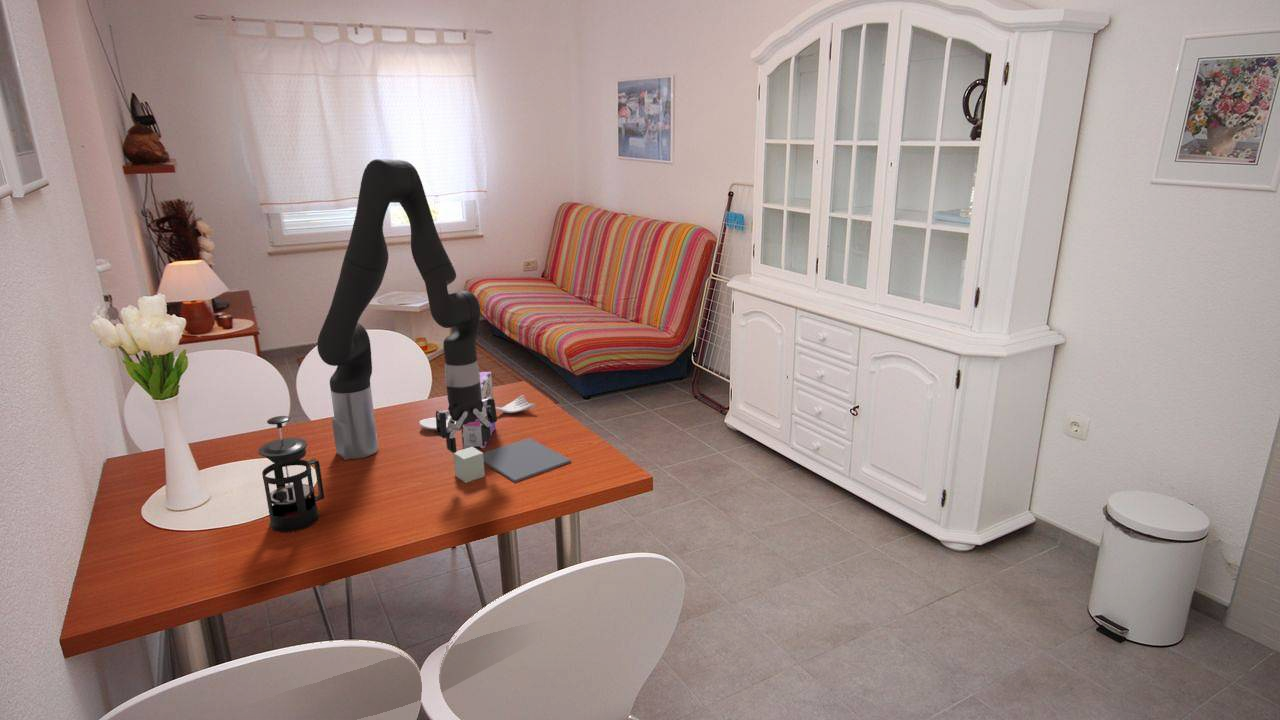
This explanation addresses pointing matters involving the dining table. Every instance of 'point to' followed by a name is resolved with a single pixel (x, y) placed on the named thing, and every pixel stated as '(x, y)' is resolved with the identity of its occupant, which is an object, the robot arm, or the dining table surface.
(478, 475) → the sage block
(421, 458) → the dining table surface
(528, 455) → the placemat
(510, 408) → the spoon
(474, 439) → the candy box
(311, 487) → the french press
